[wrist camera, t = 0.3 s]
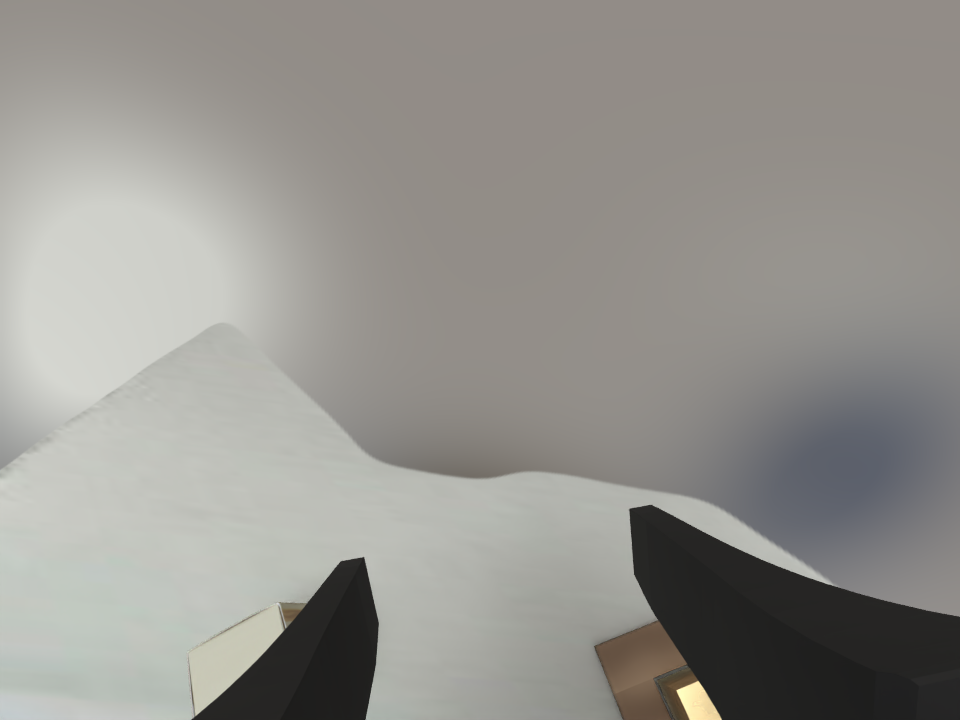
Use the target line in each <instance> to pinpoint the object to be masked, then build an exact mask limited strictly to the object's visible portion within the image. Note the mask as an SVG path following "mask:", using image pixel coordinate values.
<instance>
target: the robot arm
mask: <svg viewBox="0 0 960 720" xmlns="http://www.w3.org/2000/svg"><path fill="white" fill-rule="evenodd" d="M629 511H630V524H631V538H632V551H633V565H634V575H635V577H636V579H637V581H638V583H639V585H640V587H641V589H642V591H643V594H644V596H645V597H646V599H647V601H648V603H649V605H650V607H651V609H652V611H653V612H654V614H655V616H656V617H657V619H658V620H659V622H660V623H661V625H662V626H663V628H664V630H665V631H666V633H667V634H668V636H669V637H670V639H671V640H672V642H673V643H674V645H675V646H676V648H677V649H678V651H679V652H680V654H681V655H682V657H683V658H684V660H685V661H686V663H687V665H688V666H689V668H690V669H691V671H692V672H693V674H694V675H695V677H696V678H697V680H698V681H699V683H700V684H701V686H702V687H703V689H704V690H705V692H706V693H707V695H708V697H709V698H710V700H711V702H712V703H713V705H714V707H715V708H716V710H717V712H718V713H719V715H720V717H721V719H722V720H960V617H958V616H953V615H947V614H941V613H936V612H931V611H926V610H922V609H917V608H913V607H909V606H905V605H900V604H896V603H892V602H887V601H884V600H880V599H876V598H873V597H869V596H865V595H861V594H858V593H854V592H851V591H848V590H845V589H841V588H838V587H835V586H832V585H828V584H825V583H822V582H819V581H816V580H813V579H810V578H807V577H805V576H802V575H799V574H797V573H794V572H791V571H789V570H786V569H783V568H781V567H778V566H775V565H773V564H771V563H768V562H766V561H763V560H761V559H759V558H756V557H754V556H752V555H750V554H748V553H745V552H743V551H741V550H739V549H737V548H734V547H732V546H730V545H728V544H726V543H724V542H722V541H720V540H718V539H716V538H714V537H712V536H710V535H708V534H706V533H704V532H702V531H701V530H699V529H697V528H695V527H693V526H691V525H689V524H687V523H685V522H684V521H682V520H680V519H678V518H676V517H674V516H672V515H670V514H669V513H667V512H665V511H663V510H661V509H659V508H657V507H655V506H652V505H648V506H642V507H637V508H631V509H629ZM378 626H379V622H378V618H377V613H376V609H375V604H374V600H373V595H372V591H371V586H370V582H369V577H368V573H367V568H366V563H365V559H364V557H362V558H357V559H351V560H346V561H341V562H340V563H339V564H338V565H337V567H336V568H335V569H334V570H333V572H332V573H331V574H330V575H329V577H328V578H327V579H326V580H325V582H324V583H323V584H322V585H321V587H320V588H319V589H318V591H317V592H316V593H315V594H314V596H313V597H312V598H311V599H310V601H309V602H308V603H307V604H306V605H305V607H304V608H303V609H302V610H301V612H300V613H299V614H298V615H297V616H296V618H295V619H294V620H293V621H292V622H291V623H290V624H289V625H288V627H287V628H286V629H285V630H284V631H283V632H282V633H281V634H280V636H279V637H278V638H277V639H276V640H275V641H274V642H273V643H272V644H271V646H270V647H269V648H268V649H267V650H266V651H265V652H264V653H263V654H262V655H261V656H260V657H259V658H258V659H257V660H256V661H255V662H254V663H253V664H252V665H251V666H250V668H249V669H247V670H246V671H245V672H244V673H243V674H242V675H241V676H240V677H239V678H238V679H237V680H236V681H235V682H234V683H233V684H232V685H231V686H230V687H229V688H227V689H226V690H225V691H224V692H223V693H222V694H221V695H220V696H219V697H217V698H216V699H215V700H214V701H213V702H212V703H210V704H209V705H208V706H207V707H206V708H204V709H203V710H202V711H201V712H200V713H199V714H197V715H196V716H195V717H194V718H193V719H192V720H365V719H366V714H367V709H368V704H369V698H370V693H371V688H372V682H373V677H374V671H375V666H376V655H377V642H378Z"/></svg>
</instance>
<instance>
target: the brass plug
mask: <svg viewBox="0 0 960 720" xmlns="http://www.w3.org/2000/svg"><path fill="white" fill-rule="evenodd" d="M657 682H658V684H659V686H660V688H661V691H662V693H663V695H664V697H665V700H666V702H667V704H668V706H669V709H670V711H671V713H672V715H673V718H674V720H722V719H721V717H720V715H719V713H718V712H717V710H716V708H715V707H714V705H713V703H712V702H711V700H710V698H709V697H708V695H707V693H706V692H705V690H704V689H703V687H702V686H701V684H700V683H699V681H698V680H697V678H696V677H695V675H694V674H693V672H692V671H691V669H690V668H686V669H684V670H681V671H679V672H676V673H674V674H672V675H669V676H667V677H664V678H662V679H659V680H657Z"/></svg>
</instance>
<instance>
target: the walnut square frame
mask: <svg viewBox="0 0 960 720" xmlns="http://www.w3.org/2000/svg"><path fill="white" fill-rule="evenodd" d="M594 647H595V649H596V652H597V654H598V657H599V659H600V662H601V664H602V667H603V669H604V672H605V674H606V677H607V679H608V682H609V684H610V687H611V689H612V692H613V694H614V697H615V700H616V702H617V705H618V707H619V710H620V712H621V715H622V717H623V720H671V718H670V716H669V713H668V711H667V709H666V706H665V704H664V702H663V700H662V697H661V695H660V693H659V691H658V688H657V686H656V684H655V681H654V679H653V678H655V677H657V676H660V675H662V674H664V673H667V672H669V671H672V670H674V669H676V668H679V667H681V666H684V665H686V664H687V663H686V661H685V660H684V658H683V657H682V655H681V654H680V652H679V651H678V649H677V648H676V646H675V645H674V643H673V642H672V640H671V639H670V637H669V636H668V634H667V633H666V631H665V630H664V628H663V626H662V625H661V623H660V622H659V620H658V621H656V622H653V623H651V624H648V625H646V626H643V627H641V628H638V629H636V630H633V631H631V632H628V633H626V634H623V635H621V636H619V637H616V638H614V639H611V640H609V641H606V642H604V643H601V644H599V645H596V646H594Z"/></svg>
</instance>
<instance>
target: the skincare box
mask: <svg viewBox="0 0 960 720" xmlns="http://www.w3.org/2000/svg"><path fill="white" fill-rule="evenodd" d="M306 604H307V603H281V602H278V603H275V604H273V605H270V606H268V607H266V608H264V609H262V610H260V611H258V612H256V613H254V614H252V615H250V616H248V617H246V618H245V619H243V620H241V621H239V622H237V623H235V624H234V625H232V626H230V627H228V628H226V629H225V630H223V631H221V632H219V633H218V634H216V635H214V636H212V637H211V638H209V639H207V640H206V641H204V642H202V643H200V644H199V645H197V646H195V647H194V648H192V649H190V650H189V651H188V652H187V661H188V674H189V687H190V696H191V708H192V717H193V718H194V717H195V716H196V715H197V714H199V713H200V712H201V711H202V710H203V709H204V708H206V707H207V706H208V705H209V704H210V703H212V702H213V701H214V700H215V699H216V698H217V697H219V696H220V695H221V694H222V693H223V692H224V691H225V690H226V689H227V688H229V687H230V686H231V685H232V684H233V683H234V682H235V681H236V680H237V679H238V678H239V677H240V676H241V675H242V674H243V673H244V672H245V671H246V670H247V669H249V668H250V666H251V665H252V664H253V663H254V662H255V661H256V660H257V659H258V658H259V657H260V656H261V655H262V654H263V653H264V652H265V651H266V650H267V649H268V648H269V647H270V646H271V644H272V643H273V642H274V641H275V640H276V639H277V638H278V637H279V636H280V634H281V633H282V632H283V631H284V630H285V629H286V628H287V627H288V625H289V624H290V623H291V622H292V621H293V620H294V619H295V618H296V616H297V615H298V614H299V613H300V612H301V610H302V609H303V608H304V607H305V605H306Z"/></svg>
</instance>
